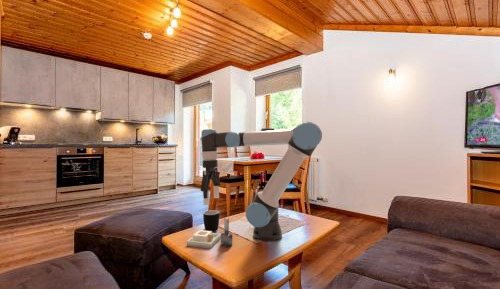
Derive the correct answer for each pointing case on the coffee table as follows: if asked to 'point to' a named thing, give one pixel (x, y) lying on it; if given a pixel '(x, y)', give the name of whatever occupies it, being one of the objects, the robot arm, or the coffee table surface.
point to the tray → (203, 244)
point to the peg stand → (226, 234)
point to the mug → (211, 220)
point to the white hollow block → (203, 236)
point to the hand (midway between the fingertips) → (211, 201)
